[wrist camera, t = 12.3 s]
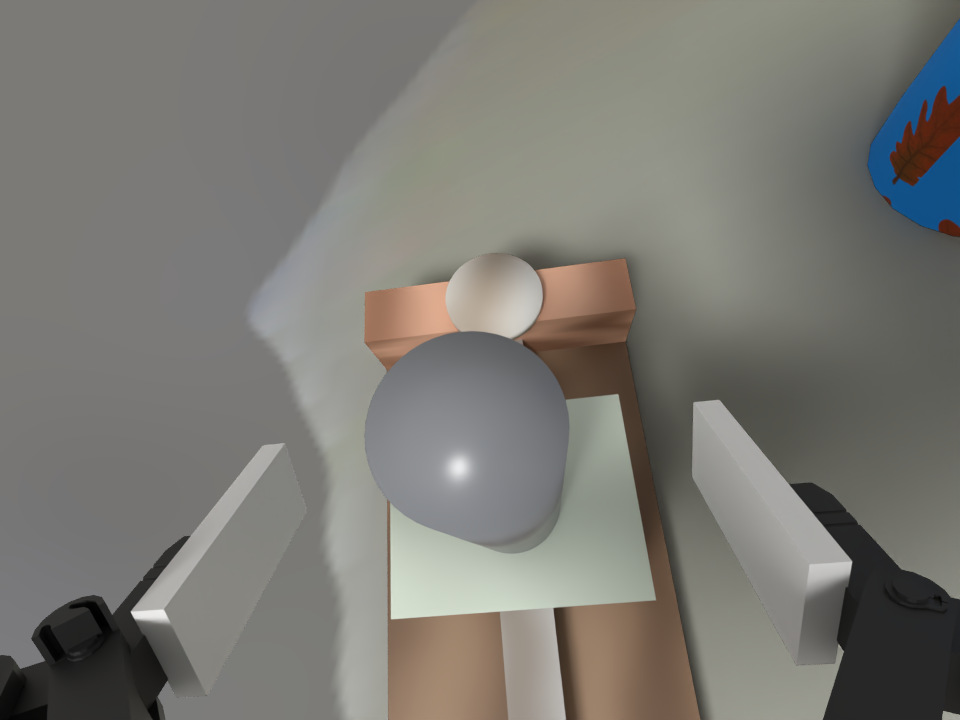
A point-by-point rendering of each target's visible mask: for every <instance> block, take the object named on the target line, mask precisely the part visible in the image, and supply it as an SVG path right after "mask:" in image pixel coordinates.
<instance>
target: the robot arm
mask: <svg viewBox="0 0 960 720" xmlns="http://www.w3.org/2000/svg"><path fill="white" fill-rule="evenodd" d="M692 478H693V480H694V481H695V483H696V485H697V487H698V489H699V490H700V492H701V494H702V496H703V498H704V499H705V501H706V503H707V505H708V507H709V509H710V510H711V512H712V514H713V516H714V518H715V519H716V521H717V523H718V525H719V527H720V528H721V530H722V532H723V534H724V536H725V537H726V539H727V541H728V543H729V545H730V546H731V548H732V550H733V552H734V554H735V556H736V557H737V559H738V561H739V563H740V565H741V566H742V568H743V570H744V572H745V574H746V575H747V577H748V579H749V581H750V583H751V584H752V586H753V588H754V590H755V592H756V593H757V595H758V597H759V599H760V601H761V602H762V604H763V606H764V608H765V610H766V612H767V613H768V615H769V617H770V619H771V621H772V622H773V624H774V626H775V628H776V630H777V631H778V633H779V635H780V637H781V639H782V640H783V642H784V644H785V646H786V648H787V649H788V651H789V653H790V655H791V657H792V659H793V660H794V662H795V664H796V665H815V664H834V663H835V660H836V654H837V648H838V643H839V644H840V646H841V647H842V649H843V650H844V654H843V657H842V660H841V663H840V667H839V670H838V673H837V676H836V679H835V683H834V686H833V689H832V692H831V695H830V699H829V702H828V705H827V708H826V711H825V715H824V718H823V720H942V714H943V711H947V712H951V713H955V714H959V715H960V599H955V598H951V597H950V596H949V595H948V594H947V592H946V591H945V590H944V589H942V588H941V587H940V586H938V585H937V584H935V583H934V582H933V581H931V580H929V579H927V578H925V577H923V576H921V575H918V574H916V573H913V572H909V571H905V570H901V569H900V568H899V567H898V565H897V564H896V563H895V562H894V561H893V560H892V559H891V558H890V557H889V556H888V555H887V554H886V552H885V551H884V550H883V549H882V548H881V547H880V546H879V545H878V544H877V543H876V542H875V540H874V539H873V538H872V537H871V536H870V535H869V534H868V533H867V532H866V531H865V530H864V529H863V527H862V526H861V525H858V523H857V521H856V520H855V519H854V518H853V517H852V516H851V514H850V513H847V512H846V509H845V508H844V507H843V506H842V505H841V504H840V503H839V501H838V500H837V499H836V498H835V497H834V496H833V495H832V494H830V493H829V492H827V491H825V490H823V489H822V488H820V487H818V486H817V485H815V484H813V483H800V484H788V483H787V481H786V480H785V479H784V478H783V477H782V475H781V474H780V473H779V472H778V471H777V469H776V468H775V467H774V466H773V464H772V463H771V462H770V461H769V460H768V458H767V457H766V456H765V455H764V454H763V452H762V451H761V450H760V449H759V447H758V446H757V445H756V444H755V443H754V441H753V440H752V439H751V438H750V437H749V435H748V434H747V433H746V432H745V430H744V429H743V428H742V427H741V426H740V424H739V423H738V422H737V421H736V420H735V418H734V417H733V416H732V415H731V413H730V412H729V411H728V410H727V409H726V407H725V406H724V405H723V404H722V403H721V401H720V400H711V401H701V402H693V452H692ZM306 512H307V508H306V505H305V502H304V499H303V496H302V493H301V490H300V487H299V484H298V481H297V478H296V475H295V472H294V469H293V466H292V463H291V460H290V457H289V454H288V451H287V447H286V444H285V443H282V444H272V445H263V446H262V447H261V449H260V450H259V451H258V452H257V454H256V455H255V456H254V457H253V459H252V460H251V461H250V463H249V464H248V465H247V466H246V468H245V469H244V470H243V471H242V473H241V474H240V475H239V476H238V478H237V479H236V480H235V481H234V483H233V484H232V485H231V486H230V488H229V489H228V490H227V491H226V493H225V494H224V495H223V496H222V498H221V499H220V500H219V501H218V503H217V504H216V505H215V507H214V508H213V509H212V510H211V511H210V513H209V514H208V515H207V516H206V518H205V519H204V520H203V521H202V523H201V524H200V525H199V526H198V528H197V529H196V530H195V532H194V533H193V534H192V535H191V536H184V537H183V538H181V539H180V540H179V541H177V542H176V543H175V544H173V545H172V546H171V547H170V548H168V549H167V550H166V551H165V552H164V553H163V555H162V556H161V557H160V558H159V559H158V561H157V562H156V563H155V564H154V567H153V568H151V569H150V570H149V571H148V573H147V574H146V575H145V576H144V577H143V581H140V582H139V583H138V585H137V586H136V587H135V588H134V589H133V591H132V592H131V593H130V594H129V596H128V597H127V598H126V599H125V600H124V602H123V603H122V604H121V605H120V606H119V608H118V609H117V610H116V611H115V613H114V614H113V615H112V614H111V612H110V611H109V609H108V607H107V605H106V603H105V602H104V600H103V598H102V597H99V596H95V595H92V596H86V597H81V598H79V599H76V600H74V601H71V602H69V603H67V604H65V605H64V606H62V607H60V608H58V609H57V610H55V611H54V612H53V613H51V614H50V615H49V616H48V617H46V618H45V619H44V620H43V621H42V622H41V623H40V625H39V626H38V627H37V628H36V629H35V631H34V634H33V636H32V638H31V639H32V641H33V642H34V644H35V645H36V647H37V648H38V650H39V651H40V653H41V654H42V656H43V658H44V659H45V661H44V662H41V663H38V664H34V665H32V666H29V667H25V668H22V669H20V668H19V667H18V665H17V664H16V662H15V661H14V660H13V658H11V656H5V655H1V656H0V720H165V715H164V710H163V706H162V704H161V702H160V700H159V699H158V697H157V696H158V695H159V693H160V691H161V690H162V688H163V687H164V685H165V683H166V682H167V681H168V682H169V684H170V686H171V688H172V690H173V692H174V694H175V696H176V697H177V698H180V697H199V696H208V694H209V692H210V690H211V688H212V686H213V685H214V683H215V681H216V679H217V677H218V675H219V673H220V672H221V670H222V668H223V666H224V664H225V662H226V660H227V659H228V657H229V655H230V653H231V651H232V649H233V647H234V646H235V644H236V642H237V640H238V638H239V636H240V634H241V633H242V630H243V629H244V627H245V625H246V623H247V621H248V619H249V618H250V616H251V614H252V612H253V610H254V608H255V606H256V605H257V603H258V601H259V599H260V597H261V595H262V593H263V592H264V590H265V588H266V586H267V584H268V582H269V580H270V579H271V577H272V575H273V573H274V571H275V569H276V567H277V566H278V564H279V562H280V560H281V558H282V556H283V554H284V553H285V551H286V549H287V547H288V545H289V543H290V541H291V540H292V537H293V536H294V534H295V532H296V530H297V528H298V526H299V524H300V523H301V521H302V519H303V517H304V515H305V513H306Z"/></svg>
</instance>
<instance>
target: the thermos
mask: <svg viewBox="0 0 960 720" xmlns="http://www.w3.org/2000/svg"><path fill="white" fill-rule="evenodd" d="M868 168H869V171H870V174H871V177H872V180H873V182H874V185H875V188H876V189H877V190H878V191H879V193H880V194H881V195H882V196H883V197H884V198H885V199H886V201H887V202H888V203H889V204H890V205H891V206H892V208H893V209H895V210H896V211H898V212H900V213H901V214H903V215H904V216H906V217H908V218H909V219H911V220H912V221H914V222H916V223H917V224H919V225H920V226H923V227H927V228H930V229H933V230H936V231H939V232H942V233H945V234H948V235H951V236H960V19H959V20H958V22H957V23H956V24H955V26H954V27H953V28H952V30H951V31H950V32H949V34H948V35H947V36H946V38H945V39H944V40H943V42H942V43H941V45H940V46H939V47H938V49H937V50H936V51H935V53H934V54H933V55H932V57H931V58H930V59H929V61H928V62H927V63H926V65H925V66H924V68H923V69H922V70H921V72H920V73H919V74H918V76H917V77H916V78H915V80H914V81H913V82H912V84H911V85H910V86H909V88H908V89H907V91H906V92H905V93H904V95H903V96H902V98H901V99H900V101H899V102H898V104H897V105H896V107H895V108H894V110H893V111H892V113H891V114H890V116H889V117H888V119H887V121H886V122H885V124H884V125H883V127H882V128H881V130H880V131H879V133H878V134H877V136H876V137H875V139H874V140H873V142H872V143H871V147H870V153H869V160H868Z"/></svg>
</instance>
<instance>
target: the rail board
mask: <svg viewBox="0 0 960 720" xmlns="http://www.w3.org/2000/svg"><path fill="white" fill-rule="evenodd" d="M635 311H636V307H635V302H634V297H633V292H632V288H631V283H630V278H629V273H628V269H627V264H626V259H625V258H624V259H616V260H609V261H601V262H593V263H586V264H578V265H570V266H563V267H555V268H547V269H540V270H534V269H533V268H532V267H531V266H530V265H529V264H528V263H526V262H525V261H523V260H522V259H520V258H518V257H515V256H512V255H509V254H503V253H491V254H485V255H481V256H478V257H476V258H473V259H471V260H470V261H468V262H466V263H465V264H463V265H462V266H461V267H460V268H459V269H458V270H457V271H456V272H455V273H454V275H453V276H452V278H451V279H450V281H448V282H441V283H433V284H425V285H418V286H410V287H402V288H395V289H387V290H379V291H372V292H365V343H366V345H367V346H368V347H369V348H370V350H371V351H372V352H373V353H374V354H375V356H376V357H377V358H378V359H379V361H380V362H381V363H382V364H383V365H384V367H385V368H386V369H387V372H388V371H389V370H390V369H391V367H392V366H393V365H394V364H395V363H396V362H397V361H398V360H399V359H400V358H401V357H403V356H404V355H405V354H406V353H408V352H409V351H410V350H412V349H413V348H415V347H417V346H418V345H420V344H422V343H424V342H426V341H428V340H431V339H433V338H435V337H439V336H442V335H445V334H450V333H455V332H464V331H479V332H488V333H493V334H498V335H501V336H504V337H507V338H509V339H512V340H514V341H516V342H518V343H520V344H522V345H523V346H525V347H526V348H528V349H530V350H531V351H532V352H533V353H534V354H536V355H537V356H538V357H539V358H540V359H541V360H542V361H543V362H544V363H545V364H546V365H547V366H548V367H549V369H550V370H551V372H552V373H553V375H554V376H555V377H556V379H557V381H558V383H559V385H560V387H561V389H562V392H563V394H564V397H565V400H568V399H578V398H587V397H596V396H605V395H615V394H618V395H619V401H620V406H621V412H622V417H623V422H624V428H625V433H626V439H627V444H628V450H629V455H630V461H631V466H632V471H633V477H634V482H635V488H636V493H637V499H638V504H639V510H640V515H641V521H642V526H643V531H644V537H645V542H646V548H647V553H648V559H649V564H650V570H651V575H652V580H653V586H654V591H655V597H656V600H653V601H639V602H626V603H612V604H598V605H584V606H570V607H556V608H542V609H528V610H514V611H501V612H487V613H473V614H459V615H445V616H431V617H417V618H403V619H391V551H390V502H389V500H388V499H387V539H388V720H700V716H699V711H698V706H697V700H696V695H695V690H694V685H693V680H692V675H691V670H690V665H689V660H688V655H687V650H686V645H685V640H684V635H683V630H682V624H681V619H680V614H679V609H678V604H677V599H676V594H675V589H674V584H673V579H672V574H671V569H670V564H669V559H668V553H667V548H666V543H665V538H664V533H663V528H662V523H661V518H660V513H659V508H658V503H657V498H656V493H655V488H654V483H653V477H652V472H651V467H650V462H649V457H648V452H647V447H646V442H645V437H644V432H643V427H642V422H641V417H640V412H639V407H638V401H637V396H636V391H635V386H634V381H633V376H632V371H631V366H630V361H629V356H628V351H627V346H626V339H627V336H628V333H629V330H630V326H631V323H632V320H633V317H634V314H635Z"/></svg>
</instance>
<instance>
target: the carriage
mask: <svg viewBox="0 0 960 720" xmlns="http://www.w3.org/2000/svg"><path fill="white" fill-rule="evenodd" d="M365 450H366V455H367V461H368V464H369V467H370V470H371V473H372V475H373V477H374V479H375V481H376V483H377V485H378V487H379V488H380V490H381V491H382V493H383V494H384V496H385V497H386V498H387V499H388V500H389V502H390V551H391V619H403V618H417V617H431V616H445V615H459V614H473V613H487V612H501V611H514V610H528V609H542V608H556V607H570V606H584V605H598V604H612V603H626V602H639V601H653V600H656V597H655V591H654V586H653V580H652V575H651V570H650V564H649V559H648V553H647V548H646V542H645V537H644V531H643V526H642V521H641V515H640V510H639V504H638V499H637V493H636V488H635V482H634V477H633V471H632V466H631V461H630V455H629V450H628V444H627V439H626V433H625V428H624V422H623V417H622V412H621V406H620V401H619V395H618V394H615V395H605V396H596V397H587V398H578V399H568V400H565V397H564V394H563V392H562V389H561V387H560V385H559V383H558V381H557V379H556V377H555V376H554V375H553V373H552V372H551V370H550V369H549V367H548V366H547V365H546V364H545V363H544V362H543V361H542V360H541V359H540V358H539V357H538V356H537V355H536V354H534V353H533V352H532V351H531V350H530V349H528V348H526V347H525V346H523V345H522V344H520V343H518V342H516V341H514V340H512V339H509V338H507V337H504V336H501V335H498V334H493V333H488V332H479V331H464V332H455V333H450V334H445V335H442V336H439V337H435V338H433V339H431V340H428V341H426V342H424V343H422V344H420V345H418V346H417V347H415V348H413V349H412V350H410V351H409V352H408V353H406V354H405V355H404V356H403V357H401V358H400V359H399V360H398V361H397V362H396V363H395V364H394V365H393V366H392V367H391V369H390V370H389V371H388V372H387V373H386V375H385V376H384V377H383V379H382V381H381V382H380V384H379V385H378V387H377V389H376V391H375V393H374V395H373V397H372V400H371V403H370V406H369V409H368V413H367V418H366V423H365Z"/></svg>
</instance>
